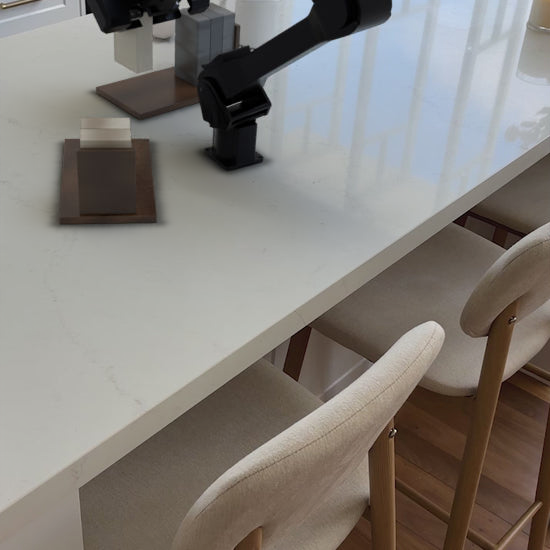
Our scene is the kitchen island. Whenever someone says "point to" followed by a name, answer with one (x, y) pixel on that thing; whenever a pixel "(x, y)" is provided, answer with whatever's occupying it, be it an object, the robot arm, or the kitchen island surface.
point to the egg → (164, 29)
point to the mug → (256, 20)
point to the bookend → (178, 65)
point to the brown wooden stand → (107, 175)
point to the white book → (135, 47)
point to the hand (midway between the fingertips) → (127, 27)
